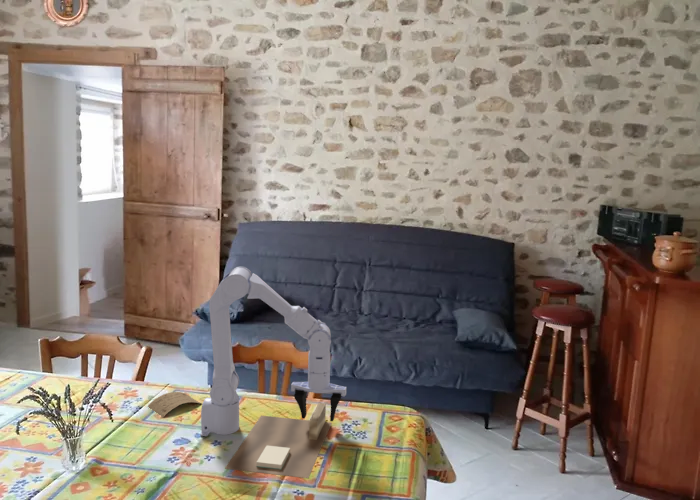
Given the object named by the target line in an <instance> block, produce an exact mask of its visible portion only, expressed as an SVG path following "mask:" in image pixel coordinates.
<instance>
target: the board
mask: <svg viewBox="0 0 700 500" xmlns="http://www.w3.org/2000/svg"><path fill="white" fill-rule="evenodd" d="M309 421H310V419H298V418H289V417H278V416H268V415H260V416H259V418H258V420H257V421H256V423H255V424H254V425H253V426H252V428H251V430H250V431H249V433H248V434H247V435H246V437H245V438H244V440H243V441H242V443H241V444H240V446H239V447H238V448H237V450H235V451H236V452H235V453H234V454H233V456H231V459H230V460H229V461H228V463H227V465H225V467H224V469H226V470H234V471H242V472H243V471H244V472H251V473H260V474H268V475H278V476H284V477H285V476H286V477H295V478H302V479H303V478H304V479H309V477H310V475H311V473H312V470H313V468H314V467H315V464H316V461H317V459H318V457H319V453H320V452H321V449H322V447H323V445H324V442H325V440H326V438H327V435H328V433H329V431H330V428H331V425H332V422H331V421H330V422H327V421H325V423H324V425H323V427H322V429H321V432H320V434H319V436H318V438H317V440H313V439H309ZM267 445H268V446H277V447H286V448H290V454H289V456H288V457H287V459H286V461H285V463H284V465H283V467H282V469H272V468H263V467H256V462H257V460H258V459H259V457H260V455H261V454H262V452H263V450H264V449H265V447H266V446H267Z"/></svg>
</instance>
